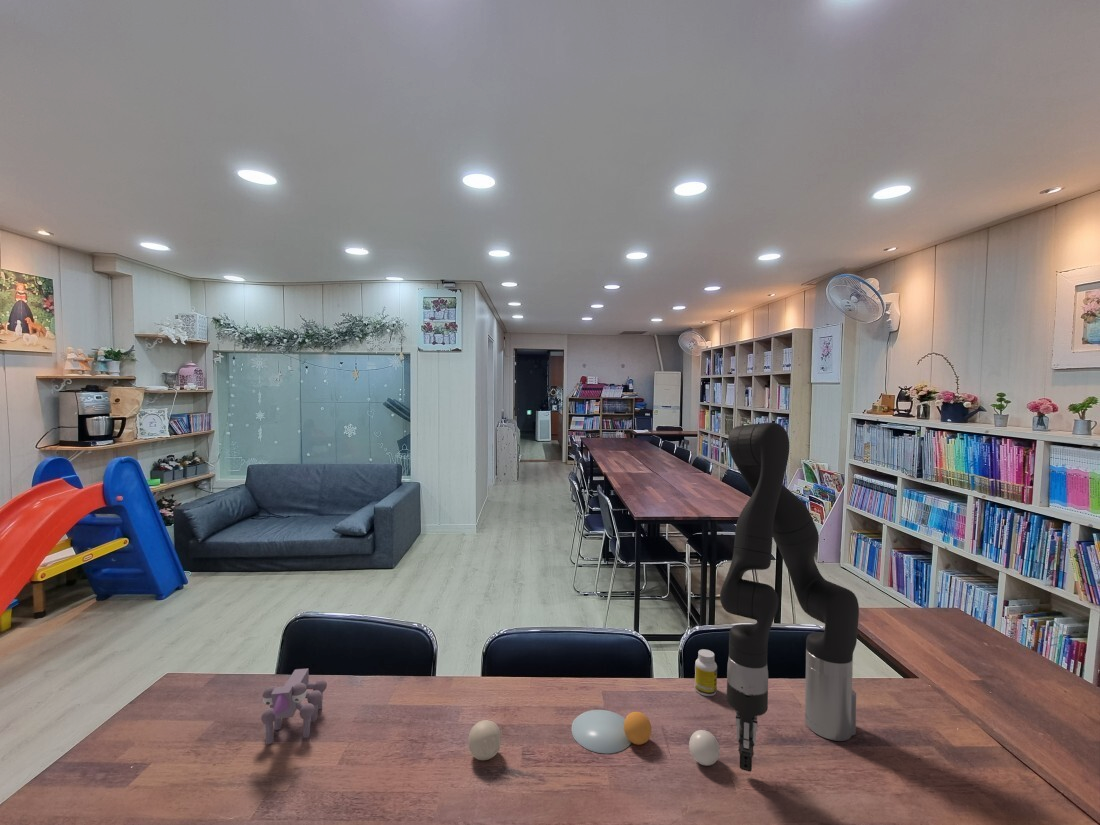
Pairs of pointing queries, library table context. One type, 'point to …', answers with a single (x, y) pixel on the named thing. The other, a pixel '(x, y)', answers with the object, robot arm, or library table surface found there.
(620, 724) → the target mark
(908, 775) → the library table surface
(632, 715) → the object ball
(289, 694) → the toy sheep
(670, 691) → the library table surface
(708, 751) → the cue ball
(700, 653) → the supplement bottle
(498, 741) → the beige egg
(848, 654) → the robot arm
